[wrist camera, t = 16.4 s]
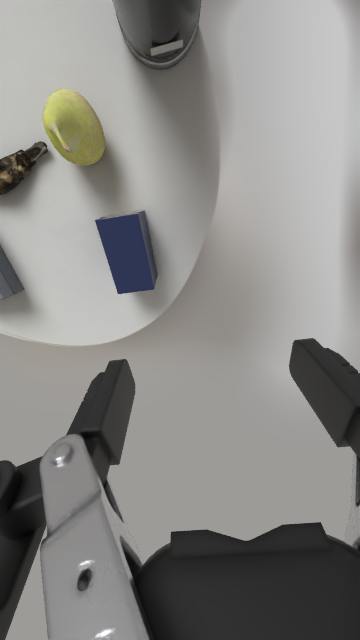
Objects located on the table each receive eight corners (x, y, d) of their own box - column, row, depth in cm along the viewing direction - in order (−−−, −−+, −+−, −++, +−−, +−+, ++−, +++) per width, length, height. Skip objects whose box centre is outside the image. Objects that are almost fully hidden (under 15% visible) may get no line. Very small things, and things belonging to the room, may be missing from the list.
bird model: (-27, 183, 31) (-43, 181, 29) (43, 137, 29) (31, 131, 26) (-10, 205, 33) (-24, 205, 30) (58, 163, 30) (48, 160, 28)
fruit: (83, 90, 26) (22, 18, 16) (123, 151, 30) (94, 124, 19) (50, 130, 28) (-24, 88, 18) (91, 183, 31) (48, 175, 21)
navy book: (121, 289, 35) (118, 294, 33) (100, 218, 30) (94, 219, 28) (155, 284, 35) (154, 289, 33) (140, 212, 29) (137, 213, 28)
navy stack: (126, 280, 39) (120, 288, 35) (108, 215, 34) (99, 217, 30) (157, 275, 39) (155, 284, 35) (144, 210, 33) (140, 211, 29)
